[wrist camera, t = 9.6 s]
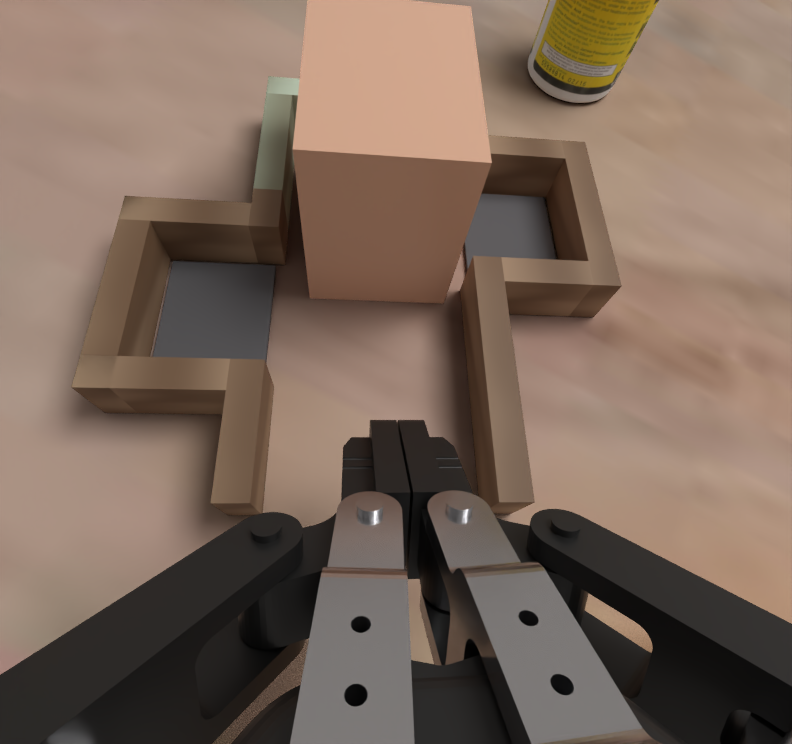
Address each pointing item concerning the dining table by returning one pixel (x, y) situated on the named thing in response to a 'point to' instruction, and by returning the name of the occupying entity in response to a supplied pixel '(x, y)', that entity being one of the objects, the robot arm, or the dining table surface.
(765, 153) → the dining table surface
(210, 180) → the dining table surface
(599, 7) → the supplement bottle
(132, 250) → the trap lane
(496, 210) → the mats
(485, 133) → the brick
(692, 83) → the dining table surface
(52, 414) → the dining table surface
